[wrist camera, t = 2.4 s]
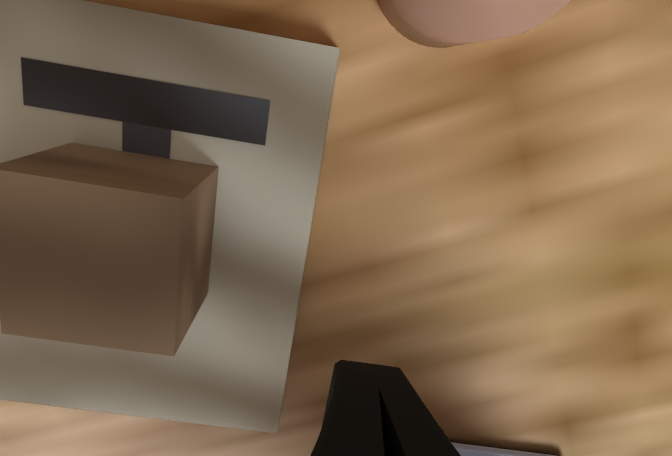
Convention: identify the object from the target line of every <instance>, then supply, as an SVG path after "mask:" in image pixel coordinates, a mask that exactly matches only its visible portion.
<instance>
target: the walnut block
mask: <svg viewBox="0 0 672 456" xmlns="http://www.w3.org/2000/svg"><path fill="white" fill-rule="evenodd" d="M218 169H219V167H217V166H211V165H205V164H199V163H192V162H186V161H180V160H174V159H168V158H162V157H156V156H150V155H144V154H138V153H131V152H125V151H119V150H113V149H107V148H101V147H95V146H89V145H83V144H77V143H68V144H65V145H61V146H58V147H54V148H51V149H48V150H44V151H41V152H37V153H34V154H30V155H27V156H24V157H20V158H17V159H13V160H10V161H7V162H3V163H0V323H1V334H9V335H16V336H24V337H31V338H39V339H46V340H54V341H61V342H69V343H76V344H84V345H91V346H99V347H106V348H114V349H121V350H129V351H136V352H144V353H151V354H159V355H167V356H175V354H176V352H177V350H178V348H179V346H180V344H181V343H182V341H183V339H184V337H185V335H186V333H187V331H188V329H189V328H190V326H191V324H192V322H193V320H194V318H195V316H196V315H197V313H198V311H199V309H200V307H201V305H202V303H203V302H204V300H205V298H206V296H207V294H208V288H209V276H210V264H211V252H212V241H213V229H214V217H215V205H216V193H217V181H218Z"/></svg>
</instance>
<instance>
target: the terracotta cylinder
mask: <svg viewBox="0 0 672 456" xmlns="http://www.w3.org/2000/svg"><path fill="white" fill-rule="evenodd" d="M377 1H378V3H379V6H380V8H381V10H382V12H383V14H384V16H385V17H386V18H387V20H388V21H389V23H390V24H391V25H392V26H393V27H394V28H395V29H396V30H397V31H398V32H399V33H400V34H402V35H403V36H404V37H406V38H407V39H409V40H411V41H413V42H415V43H418V44H420V45H424V46H428V47H435V48H446V47H452V46H458V45H464V44H470V43H476V42H481V41H487V40H493V39H499V38H505V37H510V36H514V35H517V34H521V33H524V32H526V31H528V30H530V29H533V28H535V27H537V26H539V25H540V24H542V23H544V22H545V21H547V20H548V19H550V18H551V17H553V16H554V15H555V14H556V13H558V12H559V11H560V10H561V9H562V8H563V7H564V6H565V5H566V4H567V3H568V2H569V1H570V0H377Z"/></svg>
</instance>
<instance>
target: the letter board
mask: <svg viewBox="0 0 672 456" xmlns="http://www.w3.org/2000/svg"><path fill="white" fill-rule="evenodd" d="M339 51H340V48H337V47H332V46H327V45H321V44H316V43H311V42H305V41H300V40H294V39H289V38H284V37H278V36H273V35H268V34H262V33H257V32H251V31H246V30H241V29H235V28H230V27H225V26H219V25H214V24H208V23H203V22H198V21H192V20H187V19H182V18H176V17H171V16H166V15H160V14H155V13H149V12H144V11H139V10H133V9H128V8H123V7H117V6H112V5H106V4H101V3H96V2H90V1H85V0H0V163H3V162H7V161H10V160H13V159H17V158H20V157H24V156H27V155H30V154H34V153H37V152H41V151H44V150H48V149H51V148H54V147H58V146H61V145H65V144H68V143H77V144H83V145H89V146H95V147H101V148H107V149H113V150H119V151H125V152H131V153H138V154H144V155H150V156H156V157H162V158H168V159H174V160H180V161H186V162H192V163H199V164H205V165H211V166H217V167H219V169H218V181H217V193H216V205H215V217H214V229H213V241H212V252H211V264H210V276H209V288H208V294H207V296H206V298H205V300H204V302H203V303H202V305H201V307H200V309H199V311H198V313H197V315H196V316H195V318H194V320H193V322H192V324H191V326H190V328H189V329H188V331H187V333H186V335H185V337H184V339H183V341H182V343H181V344H180V346H179V348H178V350H177V352H176V354H175V356H167V355H159V354H151V353H144V352H136V351H129V350H121V349H114V348H106V347H99V346H91V345H84V344H76V343H69V342H61V341H54V340H46V339H39V338H31V337H24V336H16V335H9V334H1V323H0V400H8V401H16V402H24V403H33V404H41V405H49V406H57V407H65V408H73V409H81V410H89V411H98V412H106V413H114V414H122V415H130V416H138V417H146V418H155V419H163V420H171V421H179V422H187V423H195V424H203V425H212V426H220V427H228V428H236V429H244V430H252V431H260V432H268V433H278V426H279V420H280V414H281V408H282V402H283V396H284V389H285V383H286V377H287V371H288V365H289V359H290V353H291V346H292V340H293V334H294V328H295V322H296V316H297V309H298V303H299V297H300V291H301V285H302V279H303V273H304V266H305V260H306V254H307V248H308V242H309V236H310V229H311V223H312V217H313V211H314V205H315V199H316V193H317V186H318V180H319V174H320V168H321V162H322V156H323V149H324V143H325V137H326V131H327V125H328V119H329V113H330V106H331V100H332V94H333V88H334V82H335V76H336V69H337V63H338V57H339Z"/></svg>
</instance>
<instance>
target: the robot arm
mask: <svg viewBox="0 0 672 456" xmlns="http://www.w3.org/2000/svg"><path fill="white" fill-rule="evenodd" d="M311 456H556V455H548V454H540V453H532V452H524V451H516V450H508V449H500V448H492V447H484V446H476V445H468V444H460V443H452V442H450V440H449V439H448V437H447V436H446V435H445V433H444V432H443V431H442V429H441V428H440V426H439V425H438V424H437V422H436V421H435V419H434V418H433V416H432V415H431V413H430V412H429V410H428V409H427V408H426V406H425V405H424V403H423V402H422V400H421V399H420V397H419V396H418V394H417V393H416V391H415V390H414V388H413V387H412V385H411V384H410V382H409V381H408V379H407V378H406V376H405V375H404V373H403V372H402V371H401V369H400V368H398V367H390V366H383V365H376V364H368V363H361V362H353V361H346V360H340V361H339V362H337V363H335V366H334V371H333V376H332V380H331V385H330V390H329V395H328V400H327V405H326V410H325V415H324V420H323V424H322V429H321V432H320V435H319V437H318V440H317V442H316V444H315V447H314V449H313V451H312V454H311Z"/></svg>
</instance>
